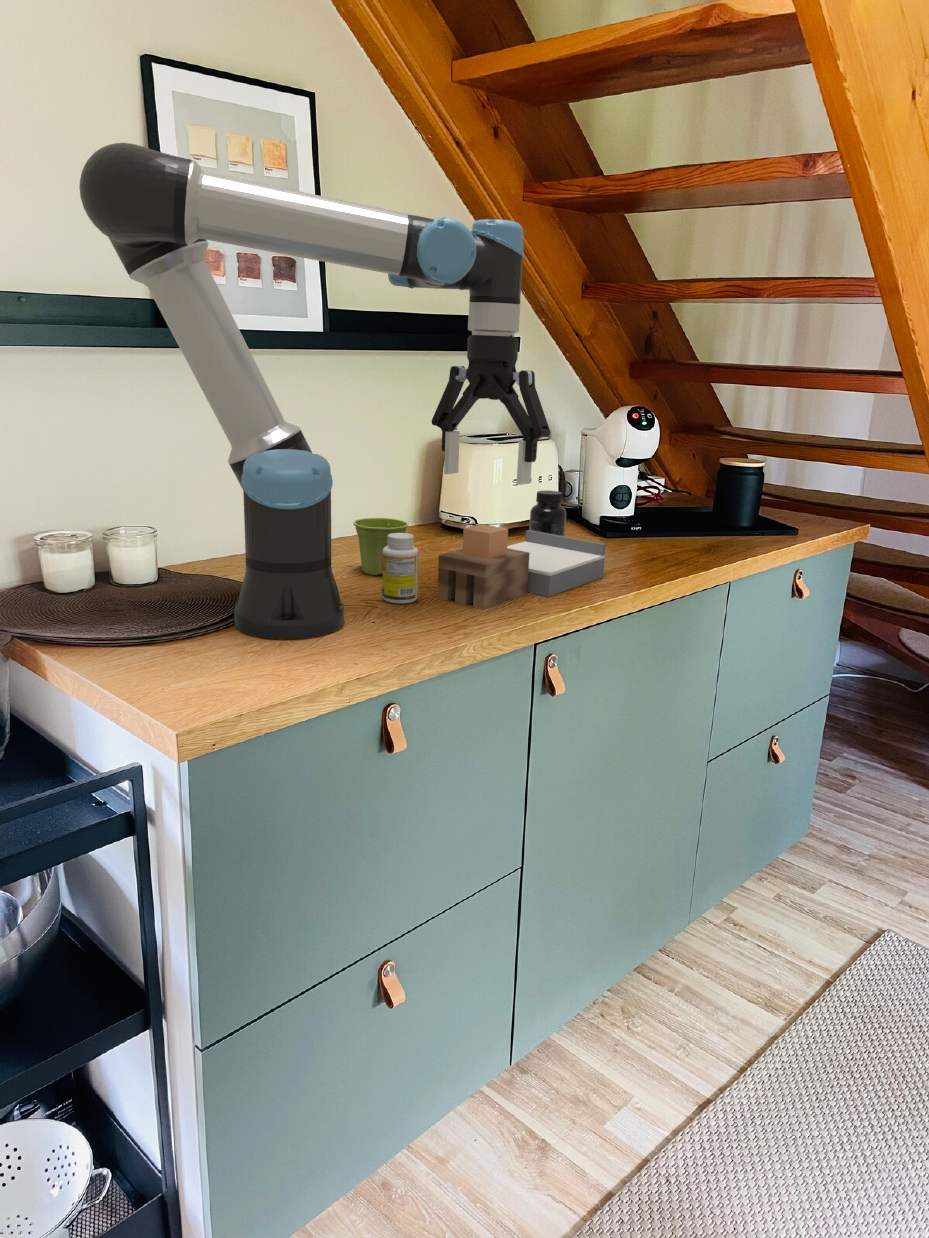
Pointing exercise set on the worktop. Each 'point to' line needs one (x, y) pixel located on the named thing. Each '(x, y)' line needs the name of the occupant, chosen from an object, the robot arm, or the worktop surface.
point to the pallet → (482, 578)
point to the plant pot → (376, 540)
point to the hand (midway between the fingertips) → (486, 478)
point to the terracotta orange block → (485, 541)
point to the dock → (560, 562)
